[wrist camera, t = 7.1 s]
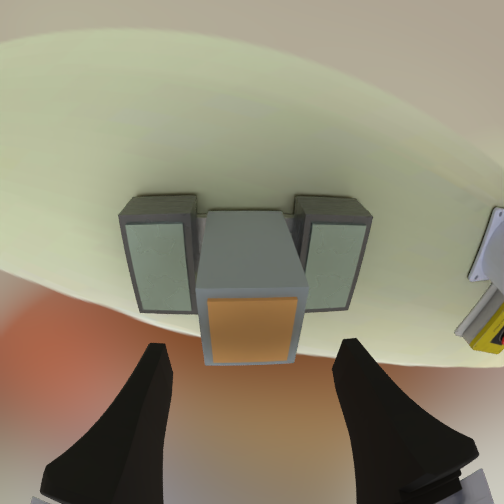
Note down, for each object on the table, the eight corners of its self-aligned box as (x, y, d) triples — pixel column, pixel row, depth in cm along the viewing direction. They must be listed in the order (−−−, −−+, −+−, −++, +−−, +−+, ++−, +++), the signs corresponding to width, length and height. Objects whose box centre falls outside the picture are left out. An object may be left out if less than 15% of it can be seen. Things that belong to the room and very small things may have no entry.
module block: (281, 211, 18) (310, 289, 11) (276, 277, 21) (294, 365, 14) (208, 211, 18) (194, 291, 11) (211, 277, 20) (204, 368, 14)
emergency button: (504, 361, 28) (466, 356, 24) (491, 342, 32) (449, 330, 28) (542, 315, 24) (518, 293, 20) (527, 297, 28) (496, 270, 24)
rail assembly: (359, 195, 18) (381, 218, 15) (340, 281, 22) (355, 311, 19) (128, 194, 17) (108, 217, 14) (143, 282, 21) (132, 314, 18)
